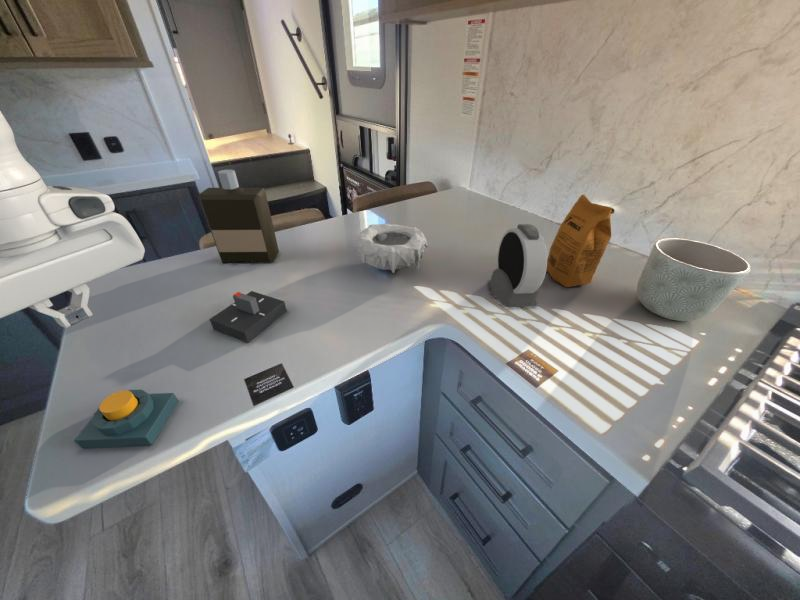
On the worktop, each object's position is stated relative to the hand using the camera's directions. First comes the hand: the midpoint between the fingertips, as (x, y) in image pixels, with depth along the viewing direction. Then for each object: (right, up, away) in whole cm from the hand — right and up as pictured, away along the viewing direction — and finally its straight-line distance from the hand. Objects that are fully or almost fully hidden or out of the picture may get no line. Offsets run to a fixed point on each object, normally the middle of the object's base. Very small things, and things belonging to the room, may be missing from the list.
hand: (77, 320), depth 40 cm
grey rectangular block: (+7, +1, +30) cm, 31 cm away
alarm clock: (+70, +4, +43) cm, 83 cm away
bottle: (-4, +15, +56) cm, 58 cm away
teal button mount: (-2, -17, +11) cm, 20 cm away
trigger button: (-2, -14, +8) cm, 17 cm away
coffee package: (+88, +9, +50) cm, 102 cm away
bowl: (+38, +13, +54) cm, 68 cm away
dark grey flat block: (+7, -2, +32) cm, 33 cm away
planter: (+107, 0, +38) cm, 114 cm away
